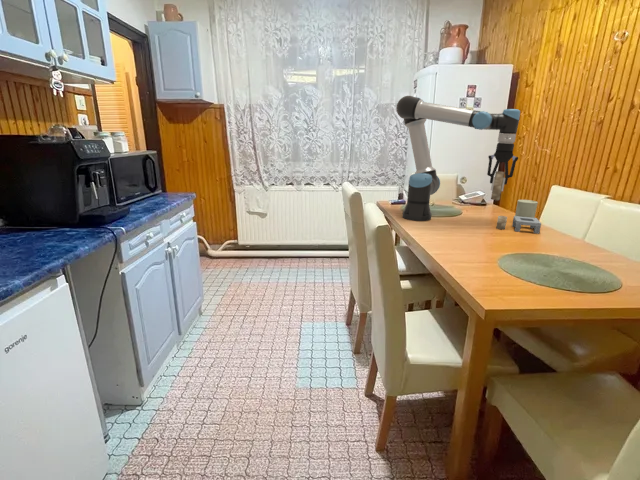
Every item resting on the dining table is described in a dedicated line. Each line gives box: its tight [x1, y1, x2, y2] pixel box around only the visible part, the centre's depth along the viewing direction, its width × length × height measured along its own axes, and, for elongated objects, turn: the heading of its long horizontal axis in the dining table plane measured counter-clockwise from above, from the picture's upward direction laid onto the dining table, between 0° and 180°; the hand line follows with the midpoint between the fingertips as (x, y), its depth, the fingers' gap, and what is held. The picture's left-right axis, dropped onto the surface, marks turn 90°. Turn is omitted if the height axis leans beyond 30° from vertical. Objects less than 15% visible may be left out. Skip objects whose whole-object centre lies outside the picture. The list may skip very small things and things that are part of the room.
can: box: [514, 199, 538, 218], centre depth 181 cm, size 9×9×12 cm
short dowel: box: [495, 215, 508, 231], centre depth 170 cm, size 4×4×6 cm
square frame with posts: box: [511, 215, 542, 235], centre depth 169 cm, size 10×12×5 cm
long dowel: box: [490, 170, 505, 201], centre depth 176 cm, size 4×4×14 cm
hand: (496, 190), depth 177 cm, fingers closed on long dowel, 4 cm apart
